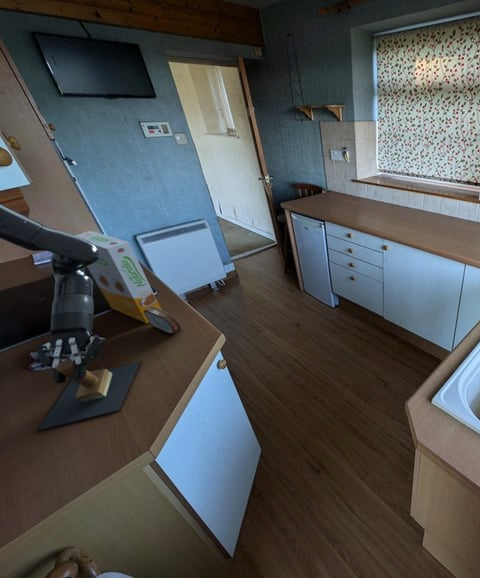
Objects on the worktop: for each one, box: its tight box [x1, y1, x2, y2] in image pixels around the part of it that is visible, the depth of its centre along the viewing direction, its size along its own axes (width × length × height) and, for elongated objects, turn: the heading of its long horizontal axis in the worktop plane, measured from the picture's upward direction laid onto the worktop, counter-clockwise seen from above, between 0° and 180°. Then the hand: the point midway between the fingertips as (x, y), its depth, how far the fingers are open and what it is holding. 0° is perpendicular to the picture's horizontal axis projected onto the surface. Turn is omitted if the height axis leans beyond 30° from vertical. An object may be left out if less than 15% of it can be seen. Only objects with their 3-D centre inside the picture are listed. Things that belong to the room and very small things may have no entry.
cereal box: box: [74, 230, 162, 324], centre depth 106 cm, size 22×6×30 cm, turn 65°
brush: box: [56, 359, 112, 401], centre depth 77 cm, size 5×7×13 cm
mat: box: [38, 362, 140, 432], centre depth 81 cm, size 16×18×1 cm
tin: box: [144, 306, 182, 335], centre depth 103 cm, size 15×3×8 cm, turn 65°
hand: (69, 381), depth 73 cm, fingers closed on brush, 3 cm apart
